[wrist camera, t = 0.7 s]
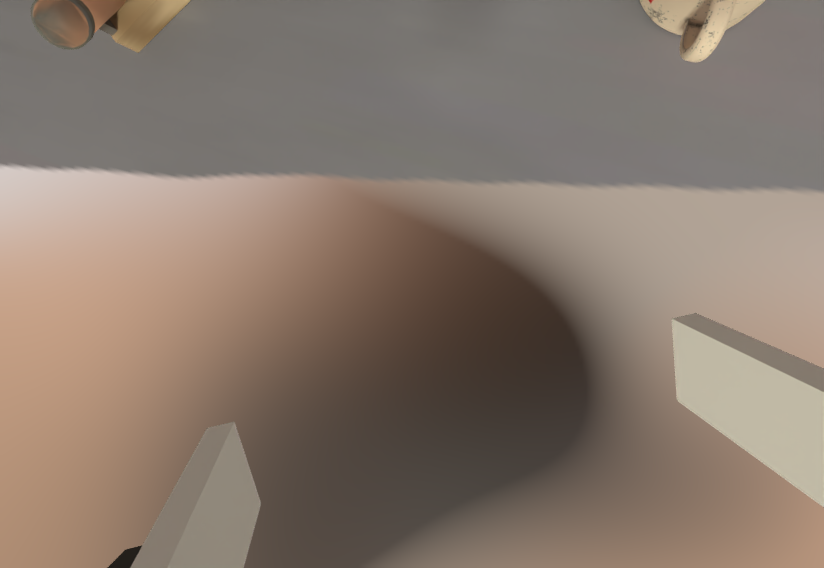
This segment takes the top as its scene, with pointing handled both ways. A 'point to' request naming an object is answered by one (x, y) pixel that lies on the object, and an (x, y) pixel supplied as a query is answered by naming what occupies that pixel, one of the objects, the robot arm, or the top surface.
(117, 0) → the folding leg
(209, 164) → the top surface
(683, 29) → the teacup with lid
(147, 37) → the stool
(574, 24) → the top surface
